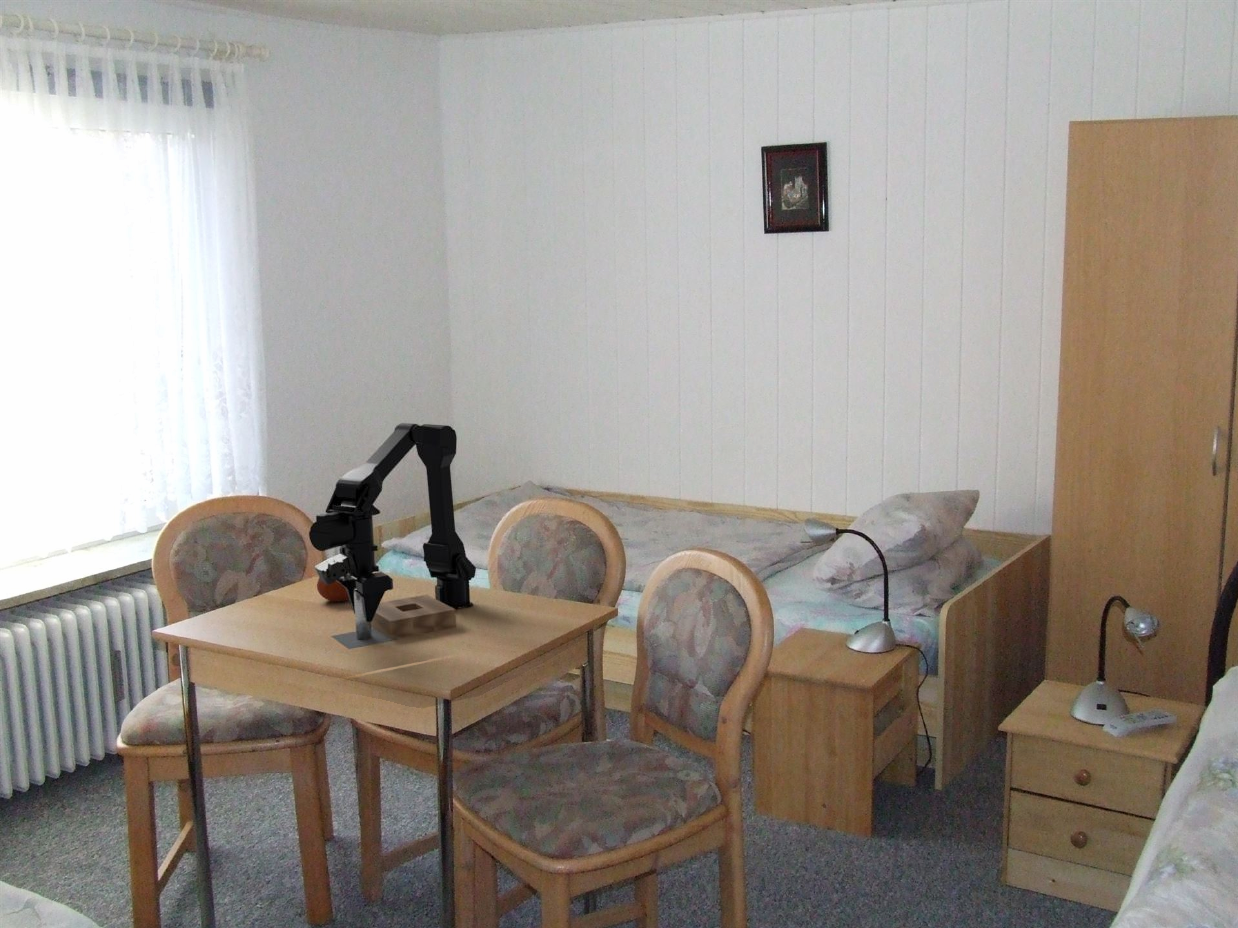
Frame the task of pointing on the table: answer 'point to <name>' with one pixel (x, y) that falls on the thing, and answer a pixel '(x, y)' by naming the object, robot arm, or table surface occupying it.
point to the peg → (361, 620)
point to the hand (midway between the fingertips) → (363, 617)
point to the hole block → (413, 616)
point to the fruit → (332, 591)
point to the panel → (352, 642)
